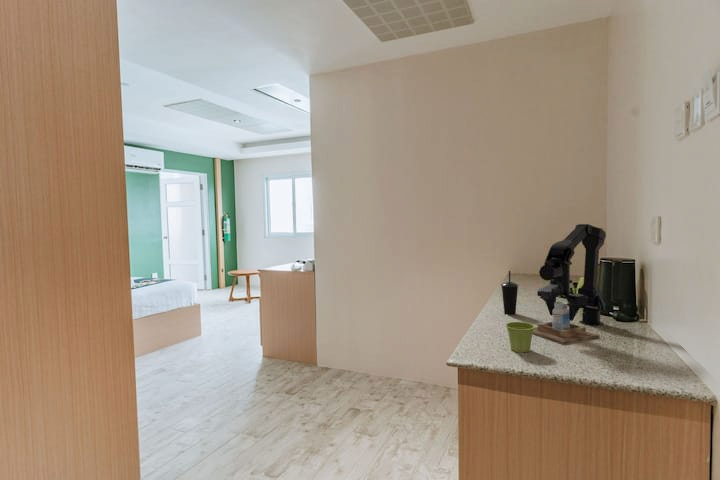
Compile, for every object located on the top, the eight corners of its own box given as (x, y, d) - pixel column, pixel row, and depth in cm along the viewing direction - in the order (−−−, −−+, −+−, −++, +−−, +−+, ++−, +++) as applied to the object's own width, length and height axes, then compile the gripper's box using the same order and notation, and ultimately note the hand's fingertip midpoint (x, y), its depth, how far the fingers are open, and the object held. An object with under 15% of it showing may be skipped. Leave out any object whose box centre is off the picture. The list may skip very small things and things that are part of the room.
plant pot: (532, 356, 137) (532, 330, 136) (503, 352, 142) (502, 327, 141) (537, 348, 145) (537, 323, 144) (509, 344, 150) (508, 320, 149)
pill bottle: (568, 330, 161) (568, 301, 160) (571, 334, 155) (571, 305, 154) (551, 329, 163) (551, 301, 162) (553, 333, 157) (553, 304, 156)
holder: (560, 325, 171) (560, 317, 170) (599, 337, 154) (599, 328, 154) (525, 331, 164) (525, 322, 164) (562, 344, 147) (562, 335, 147)
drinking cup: (500, 315, 190) (500, 271, 189) (501, 311, 197) (501, 269, 196) (518, 316, 187) (518, 272, 186) (518, 312, 194) (518, 270, 193)
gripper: (526, 275, 163) (526, 315, 164) (565, 283, 146) (565, 326, 147) (548, 273, 167) (548, 311, 168) (588, 280, 150) (588, 322, 151)
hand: (561, 317), depth 159 cm, fingers open, 9 cm apart
